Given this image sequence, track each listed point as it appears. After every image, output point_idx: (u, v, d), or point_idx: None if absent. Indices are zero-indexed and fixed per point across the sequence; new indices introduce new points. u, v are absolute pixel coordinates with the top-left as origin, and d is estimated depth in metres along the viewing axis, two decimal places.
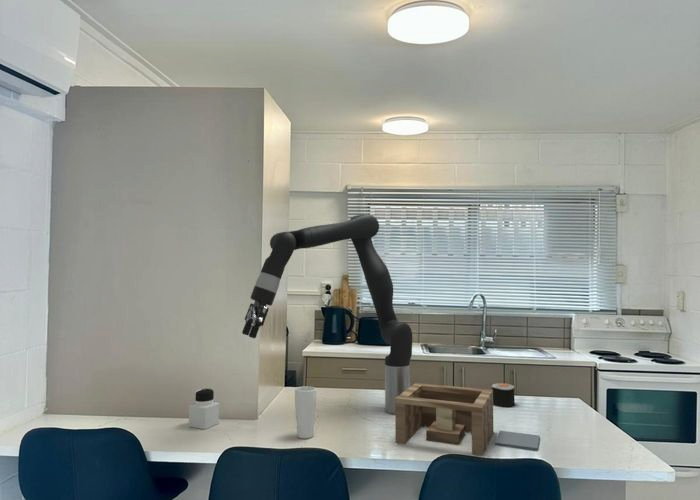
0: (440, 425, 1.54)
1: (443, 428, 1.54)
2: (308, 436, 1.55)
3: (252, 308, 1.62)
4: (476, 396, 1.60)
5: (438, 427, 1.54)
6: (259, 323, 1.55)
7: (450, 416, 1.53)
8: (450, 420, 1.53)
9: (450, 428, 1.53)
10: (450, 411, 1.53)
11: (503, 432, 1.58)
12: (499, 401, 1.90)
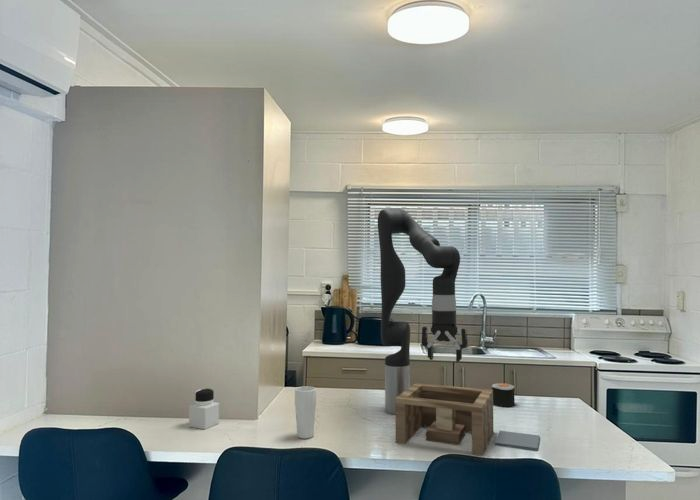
0: (440, 425, 1.54)
1: (443, 428, 1.54)
2: (308, 436, 1.55)
3: (440, 333, 1.56)
4: (476, 396, 1.60)
5: (438, 427, 1.54)
6: (466, 346, 1.54)
7: (450, 416, 1.53)
8: (450, 420, 1.53)
9: (450, 428, 1.53)
10: (450, 411, 1.53)
11: (503, 432, 1.58)
12: (499, 401, 1.90)
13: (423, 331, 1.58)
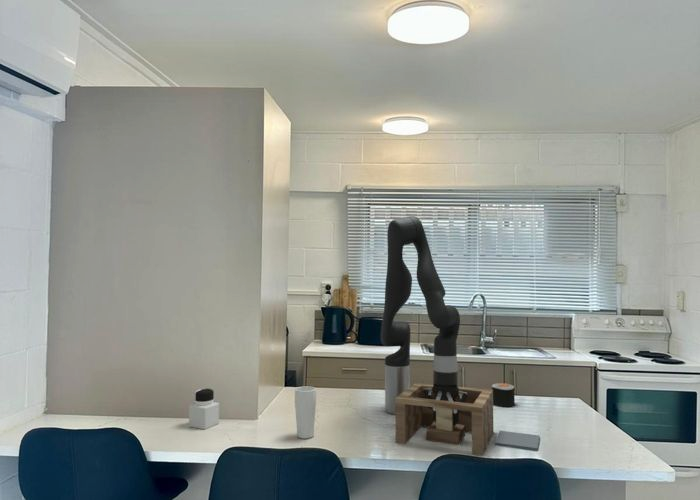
0: (440, 425, 1.54)
1: (443, 428, 1.54)
2: (308, 436, 1.55)
3: (442, 393, 1.55)
4: (476, 396, 1.60)
5: (438, 427, 1.54)
6: None
7: (450, 416, 1.53)
8: (450, 420, 1.53)
9: (450, 428, 1.53)
10: (450, 411, 1.53)
11: (503, 432, 1.58)
12: (499, 401, 1.90)
13: (425, 394, 1.58)
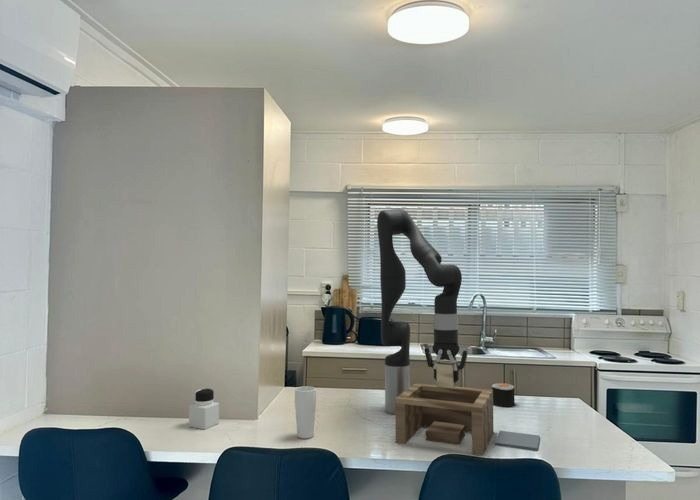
0: (441, 383, 1.55)
1: (444, 386, 1.54)
2: (308, 436, 1.55)
3: (442, 351, 1.56)
4: (476, 396, 1.60)
5: (439, 385, 1.55)
6: (463, 367, 1.55)
7: (451, 373, 1.54)
8: (451, 377, 1.54)
9: (451, 385, 1.54)
10: (451, 368, 1.54)
11: (503, 432, 1.58)
12: (499, 401, 1.90)
13: (426, 352, 1.58)
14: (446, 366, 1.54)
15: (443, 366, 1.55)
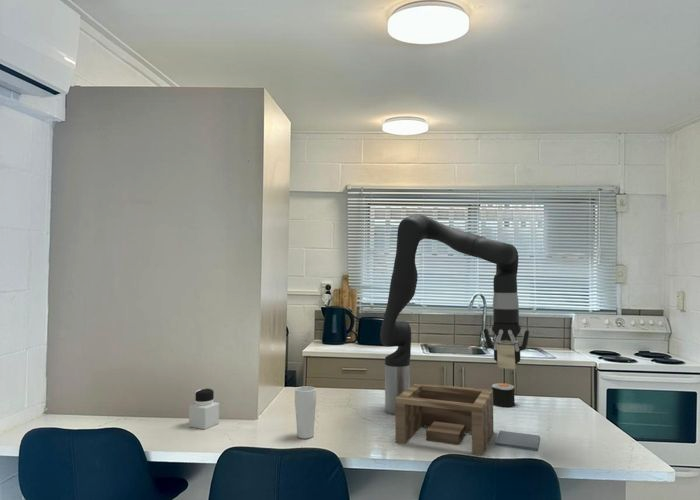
0: (502, 364, 1.50)
1: (505, 367, 1.50)
2: (308, 436, 1.55)
3: (503, 331, 1.52)
4: (476, 396, 1.60)
5: (500, 366, 1.51)
6: (525, 347, 1.50)
7: (512, 354, 1.49)
8: (512, 358, 1.49)
9: (512, 366, 1.49)
10: (512, 349, 1.49)
11: (503, 432, 1.58)
12: (499, 401, 1.90)
13: (485, 333, 1.54)
14: (507, 346, 1.50)
15: (504, 346, 1.50)
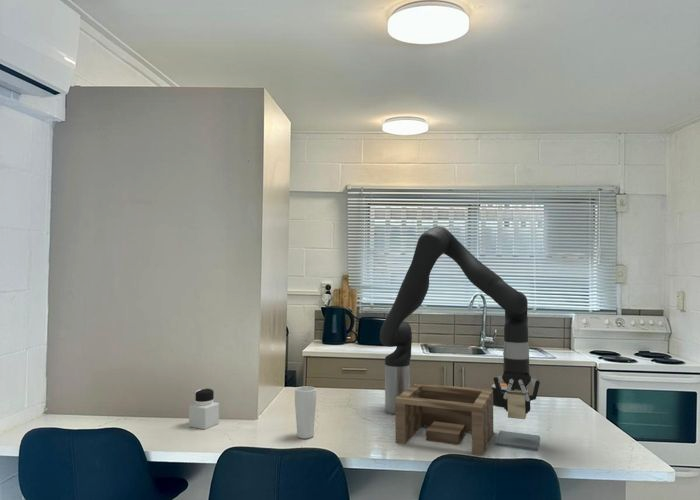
0: (512, 414, 1.50)
1: (515, 416, 1.50)
2: (308, 436, 1.55)
3: (513, 380, 1.51)
4: (476, 396, 1.60)
5: (510, 415, 1.50)
6: (535, 397, 1.50)
7: (523, 404, 1.49)
8: (523, 408, 1.49)
9: (523, 416, 1.49)
10: (523, 399, 1.49)
11: (503, 432, 1.58)
12: (499, 401, 1.90)
13: (495, 382, 1.54)
14: (518, 396, 1.50)
15: (515, 396, 1.50)
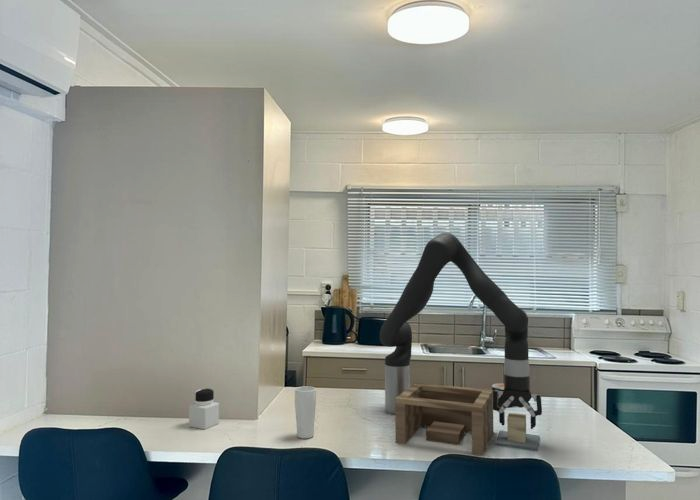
0: (512, 437, 1.50)
1: (515, 439, 1.50)
2: (308, 436, 1.55)
3: (513, 398, 1.51)
4: (476, 396, 1.60)
5: (510, 438, 1.50)
6: (541, 412, 1.49)
7: (523, 427, 1.49)
8: (523, 431, 1.49)
9: (523, 440, 1.49)
10: (523, 422, 1.49)
11: (503, 432, 1.58)
12: (499, 401, 1.90)
13: (494, 395, 1.54)
14: (518, 419, 1.50)
15: (514, 419, 1.50)
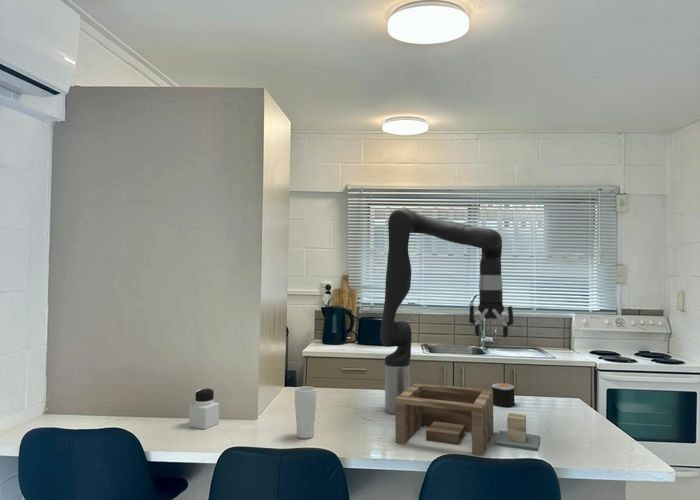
0: (512, 437, 1.50)
1: (515, 439, 1.50)
2: (308, 436, 1.55)
3: (488, 311, 1.66)
4: (476, 396, 1.60)
5: (510, 438, 1.50)
6: None
7: (523, 427, 1.49)
8: (523, 431, 1.49)
9: (523, 440, 1.49)
10: (523, 422, 1.49)
11: (503, 432, 1.58)
12: (499, 401, 1.90)
13: (471, 309, 1.69)
14: (518, 419, 1.50)
15: (514, 419, 1.50)
